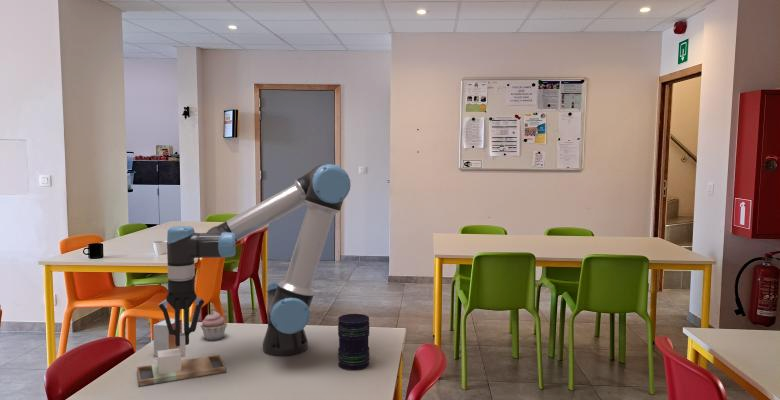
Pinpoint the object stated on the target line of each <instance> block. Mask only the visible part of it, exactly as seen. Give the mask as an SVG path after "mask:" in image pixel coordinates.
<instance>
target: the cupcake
mask: <svg viewBox="0 0 780 400" xmlns="http://www.w3.org/2000/svg"><path fill="white" fill-rule="evenodd" d="M199 326H200V328H201V330H202V332H203V336H204V339H205V340H207V341H218V340H221V339H223V338H224V335H225V331H226V328H227V326H228V324H227V322H225V317H223V316H221V313H219V312H218V311H215V310H212V311H211V313H210V314H207V315H206V316H205V317H204V319H203V320H202V321H201V325H199Z"/></svg>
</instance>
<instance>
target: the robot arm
mask: <svg viewBox="0 0 780 400" xmlns="http://www.w3.org/2000/svg"><path fill="white" fill-rule="evenodd" d="M351 186H352V185H351V179H350V176H349V173H348V172H347V171H346V170H344V169H343V167H341V166H339V165H337V164H332V163H329V164H328V163H327V164H324V163H323V164H319V165H316V166H315V167H313V168H312V169H311V170H309V171H308V172H307V173H306V174H303V175H302V176H300V177H299V178H297V179H295V180H294V183H293V184H292V185H290V186H289V187H286V188H285V189H283V190H281V191H280V192H277V193H276V194H273V195H272V196H270V197H268V198H267V199H265V200H263V201H260V202H259V203H257V204H255V205H253V206H252V207H250V208H247V209H246V210H244V211H243V212H241V213H239V214H237V215H235V216H233V217H232V218H230V219H227V220H226V221H224V222H222V223H220V224H218V225H217V226H213V227H211V228H210V229H208V230H207V231H206V232H202V233H201V232H195V228H194V227H193V226H191V225H187V226H186V225H179V226H178V225H176V226H172V227H171V226H170V227H169V229H167V234H166V235H167V236H166V238H167V239H166V253H167V255H166V257H167V258H166V259H167V261H166V262H167V278H168V280H167V295H166V297H165V298H166V299H164V300H163V301H161V302H160V301H159V303H158V307H159V309H160V310H161V311H162V313H163V316H164V320H165V321H166V324H167V327H168V331H169V334H170V335H175V344H176V346H179V350H180V353H181V358H185V357H187V356H186V346H187V345H189V344H190V334H191V333H194V332H196V329H197V324H198V321H199V318H200V314H201V308H202V307H203V305H204V303H205V300H204V299H203V298H202V297H198V295H197V294H196V290H195V287H196V286H195V285H196V280H195V278H194V277H195V276H196V274H195V273H196V272H195V271H196V270H195V259H206V258H207V259H208V258H213V259H216V258H222V259H224V258H231V257H234V256H235V255H236V243H237V242H238V241H241V240H242V239H244V238H245V237H247V236H249V235H251V234H253V233H255V232H257V231H259V230H261V229H262V228H264V227H266V226H268V225H270V224H271V223H274V222H275V221H277V220H278V219H281V218H283V217H285V216H286V215H288V214H289V213H292V212H293V211H295V210H297V209H299V208H300V207H303V206H304V205H306V211H305V214H304V217H303V221H302V224H301V227H300V230H299V233H298V236H297V240H296V243H295V246H294V250H293V252H292V255H291V259H290V262H289V265H288V268H287V272H286V275H285V278H284V279H283V280H280V281H272V282H269V283H268V284H267V290H266V293H267V329H266V332H265V334H264V337H263V341H262V351H263V353H265V354H268V355H271V356H278V357H279V356H280V357H281V356H283V357H285V356H286V357H287V356H293V355H297V354H300V353H303V352H305V351H306V350H308V347H309V340H308V337H307V335H306V331H305V328H306V326H307V325H308V323H309V321H310V317H311V316H310V315H311V313H310V312H311V311H310V307H311V304H312V302H313V298H314V294H315V293H314V291H313V289H312V285H313V283H314V279H315V277H316V273H317V270H318V267H319V262H320V259H321V257H322V254H323V252H324V251H323V250H324V247H325V244H326V241H327V237H328V235H329V231H330V227H331V225H332V222H333V218H334V216H335V215H336V214H338V213H340V212H341V209H342V206H343V202H344V200H346V198H347V197H348V195H349V193H350V190H351ZM168 304H169V305H170V307H172V309H173V310H174V319H175V330H174V329H173V328H172V325H171V322H170V318H171V317H170V315H169V312H168V307H169V305H168ZM193 304H195V307H194V311H193V315H192V320H191V323H190V314H189V313H190V308H191V307H192V305H193ZM181 310H183V331H184V332H182V333H180V319H181Z"/></svg>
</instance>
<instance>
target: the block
mask: <svg viewBox="0 0 780 400" xmlns="http://www.w3.org/2000/svg"><path fill="white" fill-rule="evenodd" d="M157 354H158V356H157V364H158V370H159V374H165V373H171V372H177V371H181V360H182V357H181V353H180V350H179V348H176V349H169V350H162V351H157Z"/></svg>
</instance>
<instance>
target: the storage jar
mask: <svg viewBox="0 0 780 400" xmlns="http://www.w3.org/2000/svg"><path fill="white" fill-rule="evenodd" d="M337 330H338V331H337V332H338V333H337V334H338V336H337V337H338V349H337V352H338V353H337V358H338V360H337V361H338V363H337V364H338V365H337V366H338V367H339V368H340V369H342V370H344V371H350V372H352V371H353V372H355V371H356V372H357V371H362V370H366V369H367V368H369V366H370V347H369V336H370V316H368V315H365V314H363V313H362V314H361V313H347V314H343V315H340V316H339V317H338V323H337Z"/></svg>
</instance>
